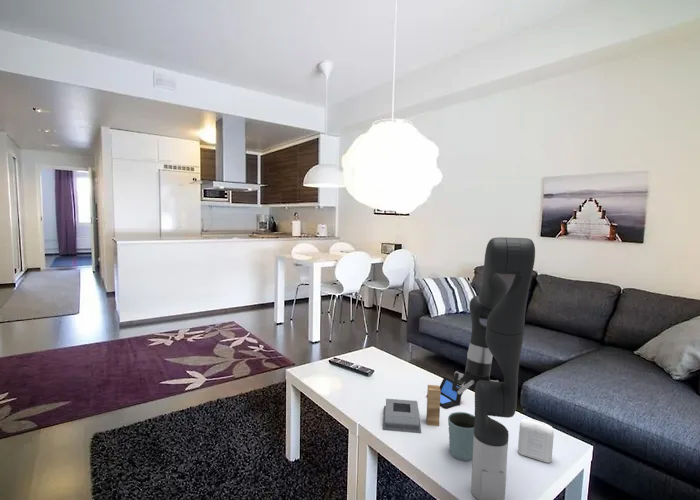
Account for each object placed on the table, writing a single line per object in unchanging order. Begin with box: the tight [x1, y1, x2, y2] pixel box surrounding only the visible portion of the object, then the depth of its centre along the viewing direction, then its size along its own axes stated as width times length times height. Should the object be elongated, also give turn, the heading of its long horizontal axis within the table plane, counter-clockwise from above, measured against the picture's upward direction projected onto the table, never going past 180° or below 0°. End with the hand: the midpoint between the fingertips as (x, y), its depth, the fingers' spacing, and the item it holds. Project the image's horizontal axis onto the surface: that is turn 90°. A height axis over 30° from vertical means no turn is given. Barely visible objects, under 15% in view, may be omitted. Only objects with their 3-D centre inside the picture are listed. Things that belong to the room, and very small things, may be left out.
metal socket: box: [382, 398, 422, 434], centre depth 146 cm, size 16×14×5 cm
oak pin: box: [425, 384, 441, 427], centre depth 144 cm, size 4×4×14 cm
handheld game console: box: [439, 376, 464, 410], centre depth 163 cm, size 12×11×7 cm
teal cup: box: [447, 411, 475, 462], centre depth 126 cm, size 10×10×12 cm
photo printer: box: [517, 418, 555, 464], centre depth 125 cm, size 10×4×12 cm, turn 60°
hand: (472, 408), depth 120 cm, fingers open, 8 cm apart
